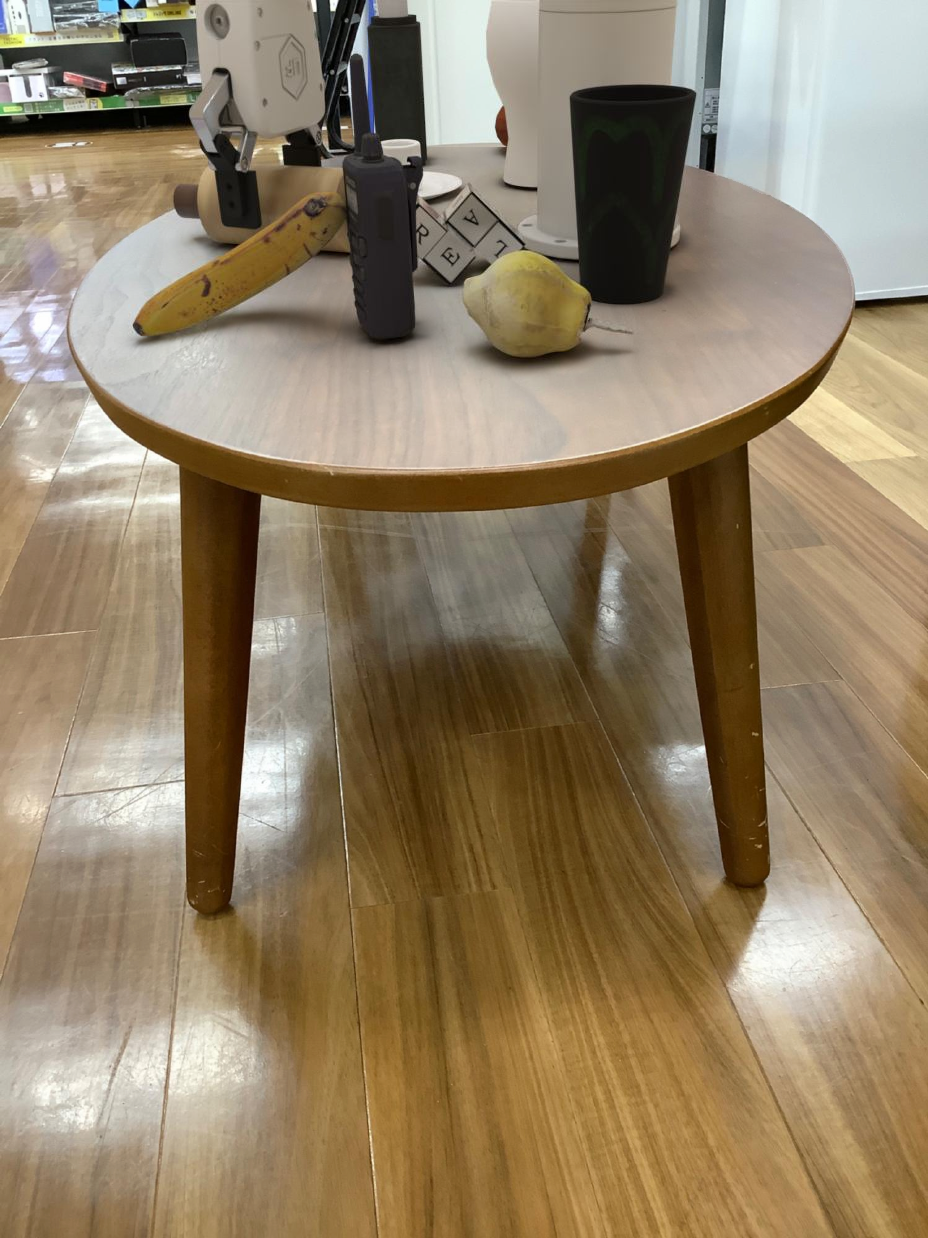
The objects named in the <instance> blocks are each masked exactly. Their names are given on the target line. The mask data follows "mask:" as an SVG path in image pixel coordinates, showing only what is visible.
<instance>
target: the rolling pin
mask: <svg viewBox="0 0 928 1238" xmlns="http://www.w3.org/2000/svg"><path fill="white" fill-rule="evenodd" d="M249 170H254V171H256V176H257V185H258V193H259V202H260V210H261V219H262V226H261V227H260V228H258V229H255V230H254V229H244V228H234V227H226V226H224V225H223V224H222V221H221V215H220V208H219V201H218V193H217V186H216V179H215V172H214V170H211V169H210V167H209V165H208V166H207V167H205V169H204V170H203V172H202V174H201V176H200V178H199V182H198V184H197V183H179V184H177V185H176V186H175V188H174V191H173V195H172V196H173V197H172V198H173V199H172V201H173V202H172V203H173V207H174V210H175V212H176V214H177V215H178V216H179V217H180V218H181V219H192V220H200V223H201V226H202V227H203V230H204V231H205V233H206V234H207V236H208V237H209V238H210V239H211V240H212V241H214V242H216V243H219V244H232V245H240V244H242V243H243V242H245V241H246V240H248V239H249V238H251V237H252V236H254V235H255V234H257V233H258V232H260V231H261V230H263V229H264V228H266V227H267V226H269V225H270V224H272V223H273V222H275V221H276V220H277V219H279V218H280V217H282V216H283V215H284V214H285V213H286V212H288V211H289V210H290V209H291V208H292V207H293V206H294V205H296V204H297V203H298V202H300V201H301V200H302V199H303V198H305V197H307V196H308V195H310V194H313V193H319V192H335V193H337V194H339V195H340V196H341V197H342V199H343V201H344V203H345V206H346V198H345V187H344V176H343V168H342V167H331V166H322V167H314V166H292V165H284V164H270V163H266V164H265V163H250V167H249ZM346 210H347V208H346ZM347 224H348V219H347V216H346V219H345V222H344V224H343V225H342V227H341V228H340V229H339V231H338V232H337V233H336V235H335V236H334V237H333V238H332V239H331V240H330V241H329V243H328V244H327V245H326V246H324V247H323V248H322V249H321V250H320V251H321V252H322V251H323V252H336V253H349V254H351V251H350V243H349V239H348V236H347V232H348V230H347Z"/></svg>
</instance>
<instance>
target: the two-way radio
mask: <svg viewBox="0 0 928 1238" xmlns="http://www.w3.org/2000/svg"><path fill="white" fill-rule="evenodd" d="M348 61H349V77H350V78H349V79H350V99H351V101H350V102H351V113H352V114H351V115H352V129H353V139H354V140H353V141H354V142H353V143H354V150H353V152H352V153H348V154H347V155H346V156H344V158H343V160H342V165H341V168H343V176H344V187H345V198H346V208H347V219H348V224H347V230H348V232H347V236H348V239H349V243H350V251H351V253H349V257H348V258H349V259H348V260H349V265H350V267H351V272H352V275H351V281H352V284H353V288H352V292H353V296H354V300H353V302H354V307H355V311H356V312H355V313H356V317H357V320H358V322H359V324H360V325H361V327H362V328H363V330H365V332H366V333H367V334H368V335H369V336H370V337H371V338H374V339H377V340H379V341H380V340H386V339H387V340H388V339H393V338H400V337H406V335H407V334H409V333H410V332H412V331H413V330H415V328H416V302H415V289H414V273H415V272H416V271H417V270H418V268H419V258H418V254H417V233H416V202H417V195H418V190H419V185H420V183H421V180H422V178H423V171H424V167H423V166H424V165H423V166H422V159H421V157H419V156H410V157H407V162H410V164H409V165H402V163H401V162H400V161H399V160H398V159H396V158H394V157H388V156H386V155H384V154H383V149H382V144H381V140H380V136H379V135H378V134H376V133H375V132H372V131H371V128H372V127H371V119H370V109H369V98H368V91H367V80H366V73H365V64H364V58H363V56H362V55H361V54H360V53H353V54H351V55H350V57H349V60H348Z"/></svg>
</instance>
